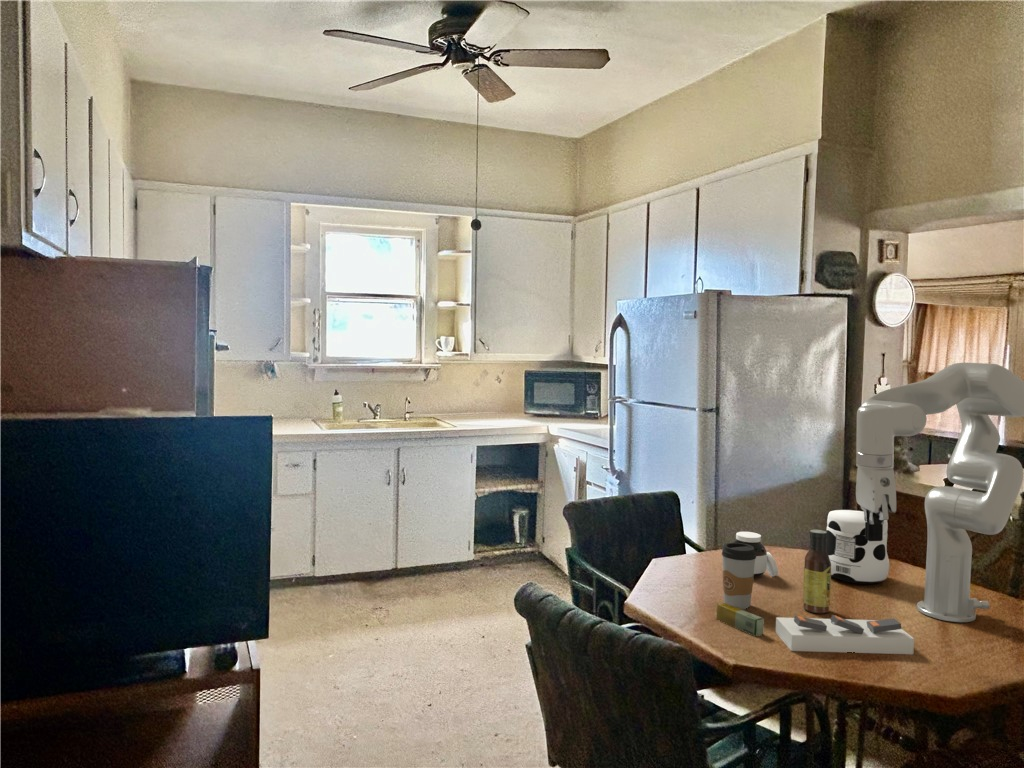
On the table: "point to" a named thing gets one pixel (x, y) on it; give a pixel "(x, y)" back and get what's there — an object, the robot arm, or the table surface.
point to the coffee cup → (738, 574)
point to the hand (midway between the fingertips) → (873, 539)
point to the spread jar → (758, 553)
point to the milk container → (855, 549)
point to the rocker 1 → (810, 623)
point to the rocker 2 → (884, 625)
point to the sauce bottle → (817, 574)
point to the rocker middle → (847, 624)
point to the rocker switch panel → (843, 638)
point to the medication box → (740, 619)
